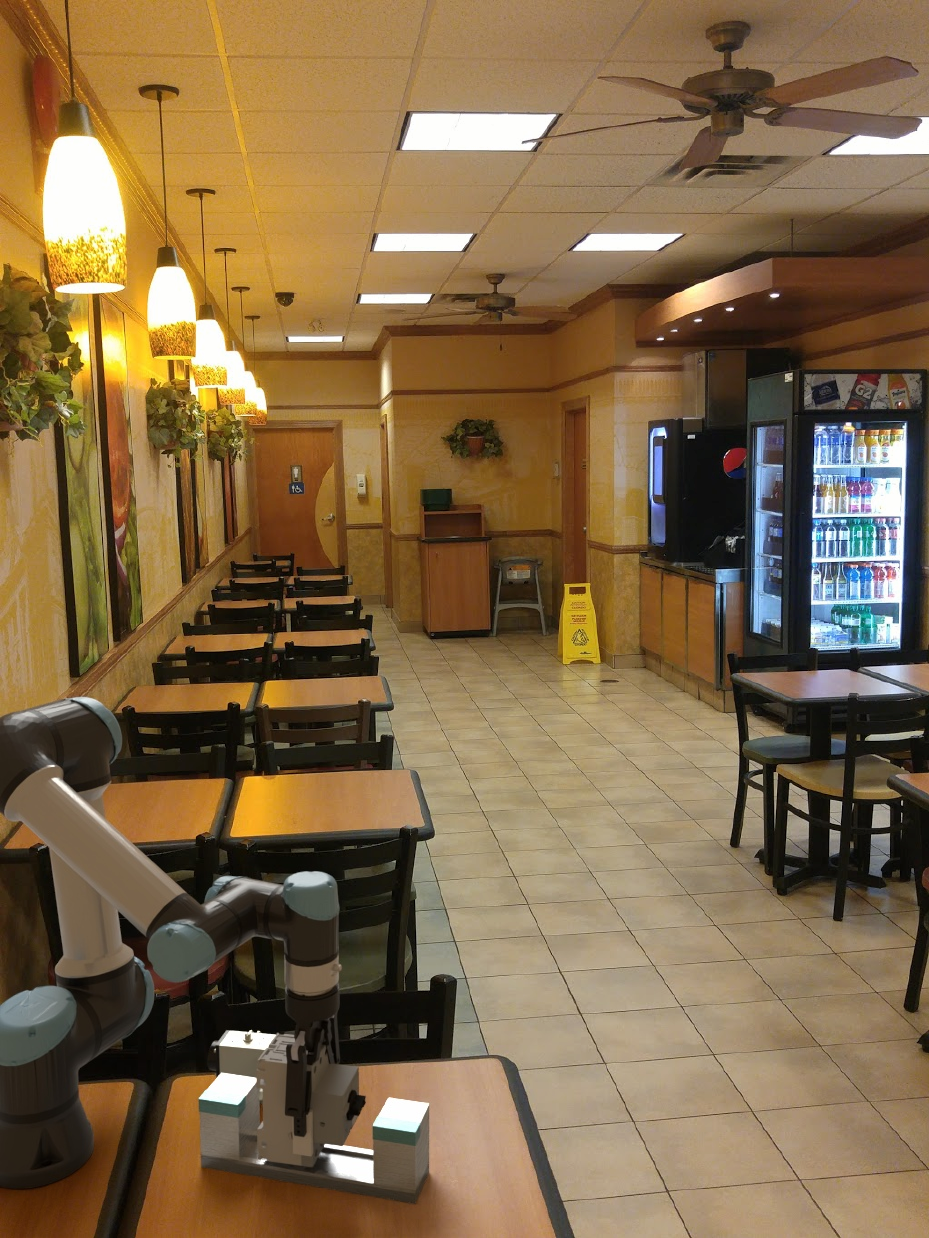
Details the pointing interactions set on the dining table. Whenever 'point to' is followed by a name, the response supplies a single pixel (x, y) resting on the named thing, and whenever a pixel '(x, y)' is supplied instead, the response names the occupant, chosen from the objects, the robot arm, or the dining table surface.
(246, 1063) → the pneumatic valve
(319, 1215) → the dining table surface
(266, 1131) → the circuit breaker
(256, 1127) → the rail with modules
